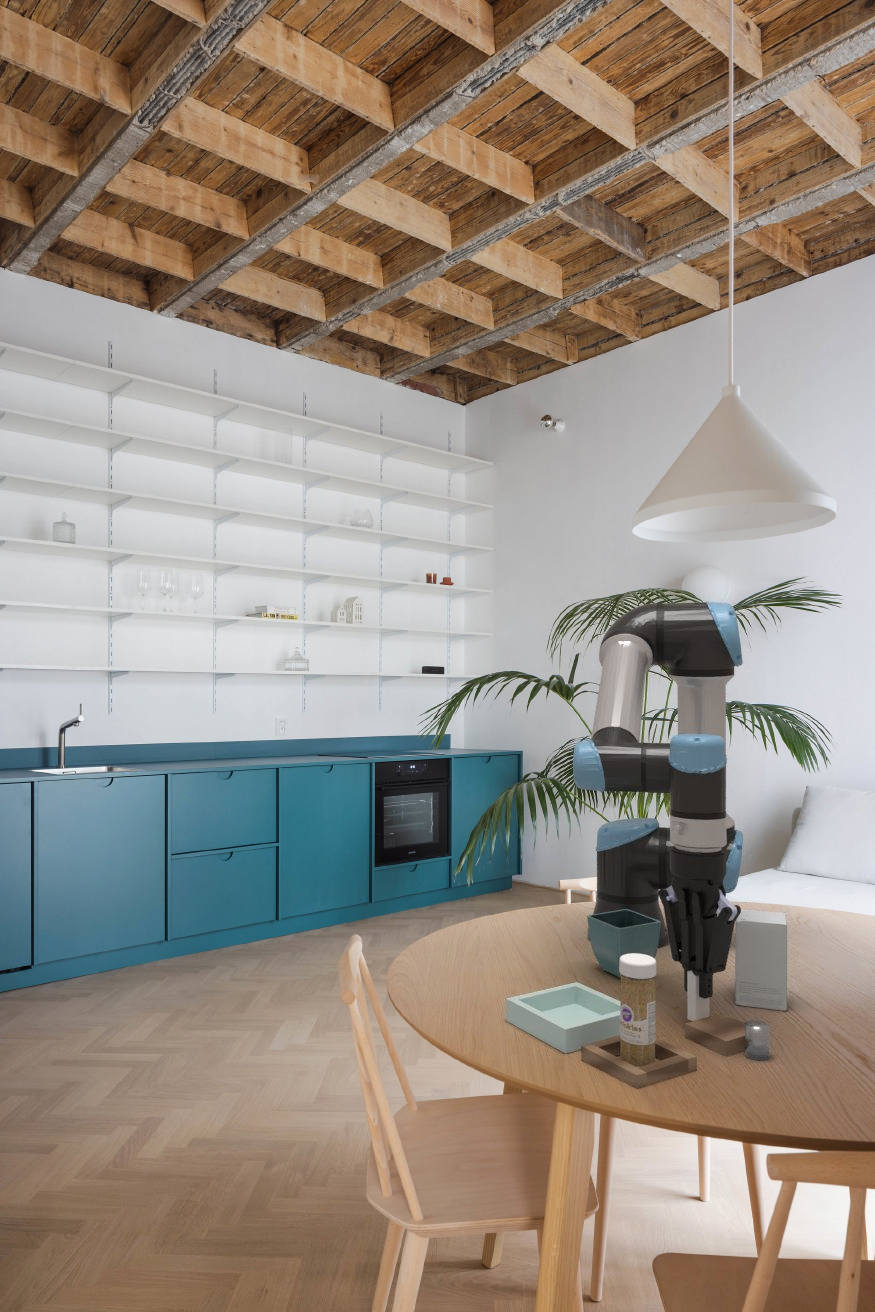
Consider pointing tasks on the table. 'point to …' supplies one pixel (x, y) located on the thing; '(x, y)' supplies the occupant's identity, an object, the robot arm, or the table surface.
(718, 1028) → the square wooden coaster
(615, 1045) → the socket block
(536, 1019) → the tray
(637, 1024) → the sprinkles bottle
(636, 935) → the flower pot
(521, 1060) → the table surface
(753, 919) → the supplement box
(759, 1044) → the bench dog
